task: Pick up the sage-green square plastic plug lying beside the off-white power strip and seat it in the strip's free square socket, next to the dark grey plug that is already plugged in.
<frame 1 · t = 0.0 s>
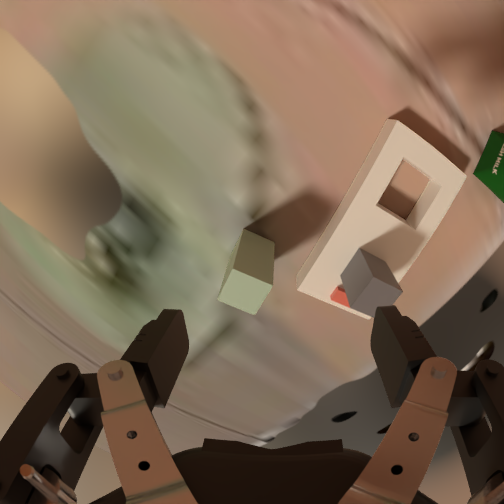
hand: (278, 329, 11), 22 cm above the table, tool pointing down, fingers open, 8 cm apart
power strip: (379, 222, 32), on the table
green plug: (252, 249, 35), on the table
milk carton: (496, 166, 27), on the table
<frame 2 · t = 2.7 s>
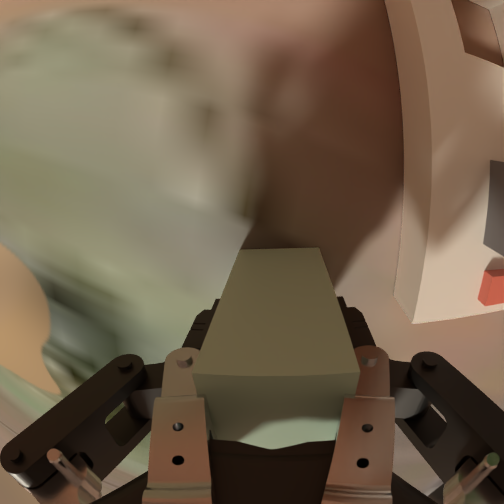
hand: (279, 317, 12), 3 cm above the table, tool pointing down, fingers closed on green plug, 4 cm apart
power strip: (480, 108, 11), on the table
green plug: (280, 284, 15), on the table, touching gripper
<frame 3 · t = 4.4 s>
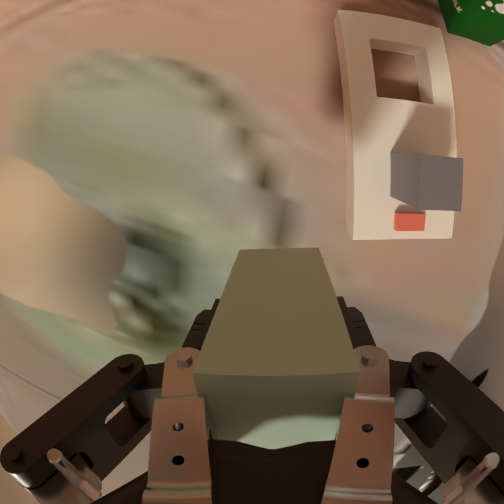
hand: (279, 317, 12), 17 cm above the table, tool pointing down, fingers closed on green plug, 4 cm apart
power strip: (396, 123, 24), on the table
green plug: (280, 284, 15), point 14 cm above the table, touching gripper
milk carton: (462, 17, 18), on the table
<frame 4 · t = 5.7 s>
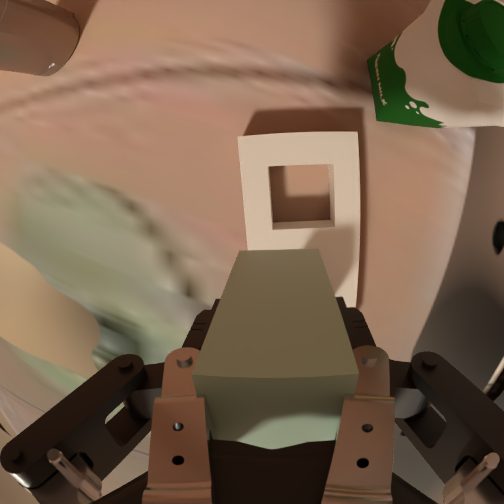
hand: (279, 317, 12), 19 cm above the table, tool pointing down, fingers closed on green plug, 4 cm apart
power strip: (302, 239, 31), on the table
green plug: (279, 285, 15), point 16 cm above the table, touching gripper
milk carton: (401, 91, 24), on the table
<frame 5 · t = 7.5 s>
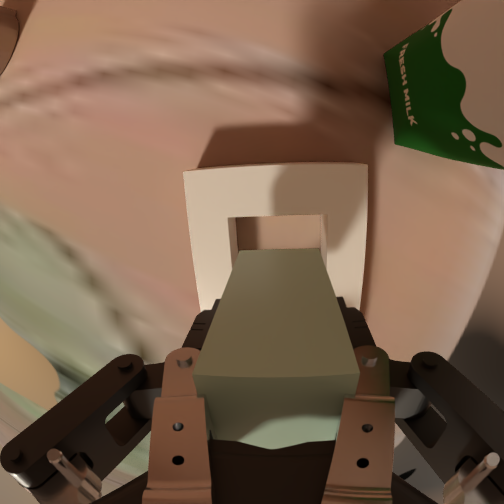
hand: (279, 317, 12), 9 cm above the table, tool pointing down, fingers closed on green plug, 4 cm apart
power strip: (280, 307, 23), on the table
green plug: (280, 285, 15), point 6 cm above the table, touching gripper
milk carton: (430, 102, 16), on the table
when the fingers open (5 cm above the table, at t = 8.7 s): green plug drops 1 cm, resting in power strip.
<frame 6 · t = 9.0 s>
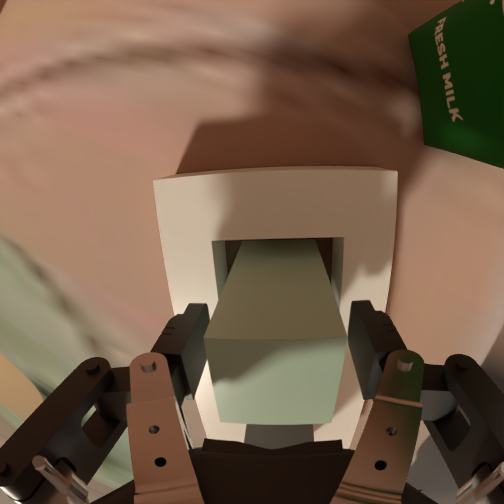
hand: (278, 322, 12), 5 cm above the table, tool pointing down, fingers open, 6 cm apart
power strip: (281, 342, 18), on the table
green plug: (279, 273, 17), resting in power strip
milk carton: (463, 95, 12), on the table
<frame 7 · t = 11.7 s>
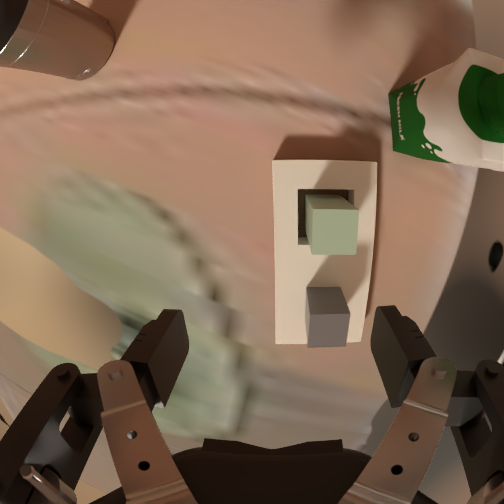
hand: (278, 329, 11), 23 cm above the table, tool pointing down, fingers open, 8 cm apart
power strip: (321, 253, 34), on the table
green plug: (322, 211, 33), resting in power strip
milk carton: (416, 124, 28), on the table
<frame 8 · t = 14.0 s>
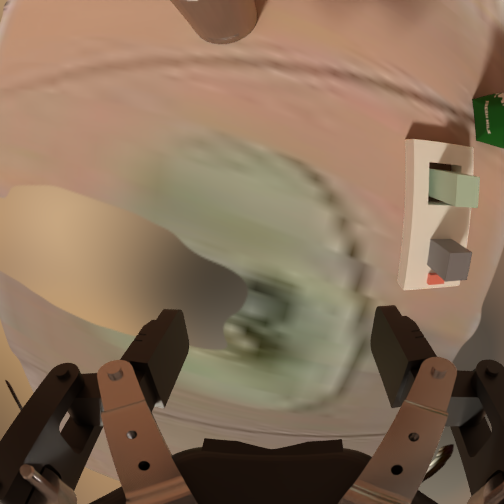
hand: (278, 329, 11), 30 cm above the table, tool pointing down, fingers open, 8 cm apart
power strip: (434, 214, 38), on the table
green plug: (435, 182, 36), resting in power strip
milk carton: (488, 122, 31), on the table
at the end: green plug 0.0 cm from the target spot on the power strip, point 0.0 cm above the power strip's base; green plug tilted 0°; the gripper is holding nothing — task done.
